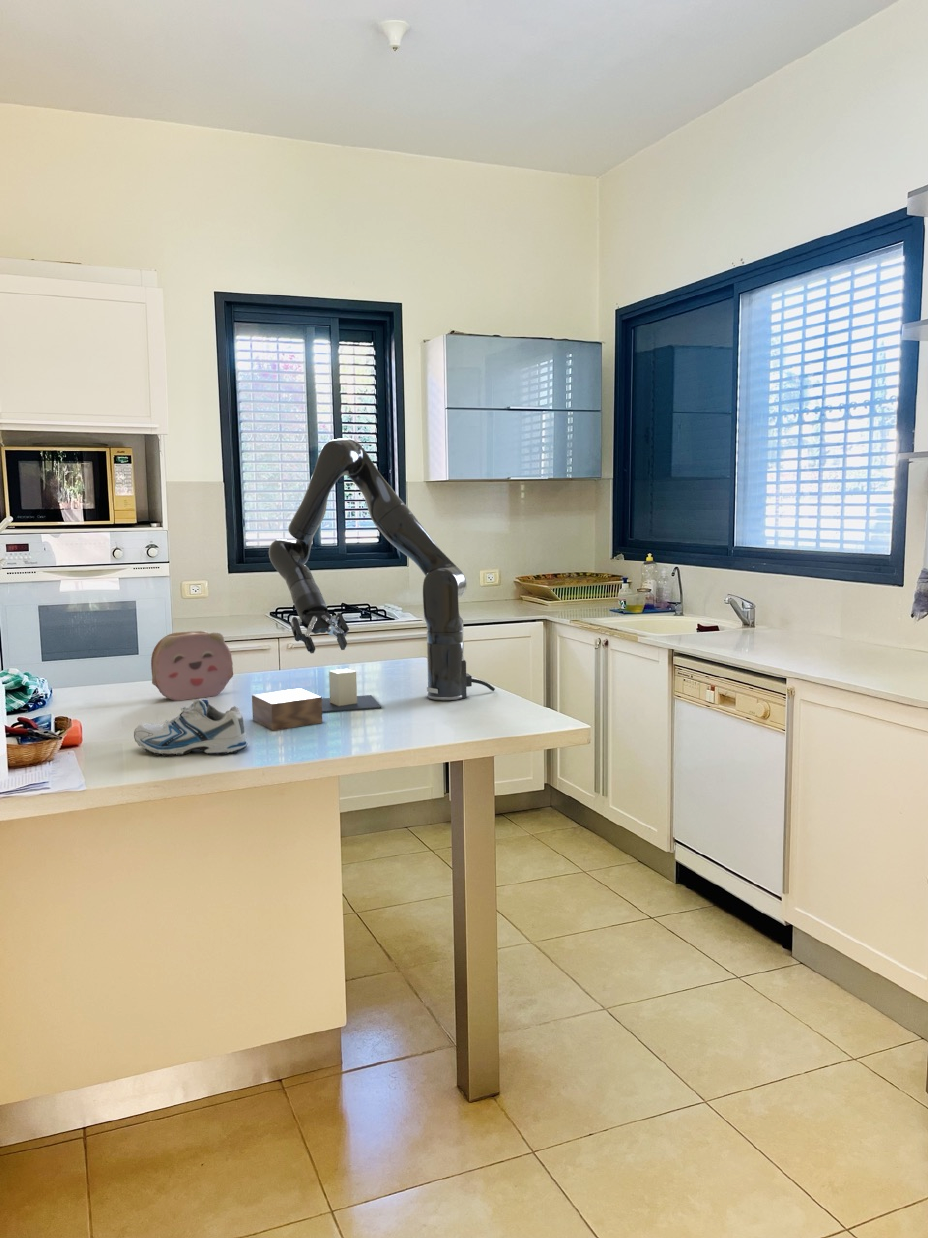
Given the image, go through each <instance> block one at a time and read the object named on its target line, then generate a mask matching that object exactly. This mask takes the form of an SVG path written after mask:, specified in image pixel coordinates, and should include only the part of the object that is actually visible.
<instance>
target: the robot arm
mask: <svg viewBox="0 0 928 1238" xmlns="http://www.w3.org/2000/svg"><path fill="white" fill-rule="evenodd" d="M344 476H347V477H348V478H349V479H350V480H351V481H352V482H353V483H354V485H355V486H356V487H357V488H358V490H359V491H360V493H361V494H362V496H363V497H364V500H365V501H364V502H365V504H366V508H367V511H368V514H369V516H370V519H371V521H372V522H373V524H374V525H375V527H377V530H379V532H380V534H382V536H383V537H384V538H385V539H386V540H387V541H388V542H389V543H390V545H392V546H393V547H394V548H396V549H397V550H398V551H399V552H401V553H402V554H403V555H405V556H406V557H408V558H409V559H410V560H411V561H413V563H415V565H417V567H418V568H419V569H420V571H421V572H422V573H423V574H424V577H423V582H422V606H423V608H422V609H423V618H424V621H425V624H426V653H427V654H426V655H427V656H426V660H427V662H426V663H427V664H426V665H427V666H426V667H427V686H426V692H427V698H428V699H430V700H434V701H456V700H460V699H467V698H468V697H467V688H468V687H469V688H470V687H472V685H473V684H479V685H481V686H484V687H486V688H488V689H489V690H490V691H492V692H494V691H495V690H496V688H495V687H494V686H493V685H491V684H490V683H488V682H486V681H485V680H481V679H476V678H473V677H472V675H471V674H469V673H467V660H466V659H465V658H464V657H465V656H464V655H465V654H464V651H465V650H464V647H465V646H464V645H465V644H464V643H465V641H464V619H463V618H462V617H461V615H460V605H459V604H460V603H459V599H461V598H462V597H463V596H464V595H465V593H466V591H467V580H466V577H465V575H464V573H463V571H462V570H461V569H460V568H459V566H457V565H456V564H455V563H454V562H453V561H452V560H451V559H450V558H449V557H448V556H447V555H446V554H445V552H443V551H442V550H441V549H440V548H439V546H438V545H437V544H436V543H435V541H434V540H433V539H432V537H431V536H430V535H429V533H428V531H426V529H425V528H424V526H422V524H421V523H420V521H418V519H417V518H416V516H415V514H414V513H413V512H412V511H411V510H410V508H409V507H408V506H407V505H406V503H405V502H404V501H403V500H402V499H401V498H400V496H399V495H398V494H397V493H396V492H395V490H394V489H393V487H392V486H391V485H390V484H389V483H388V482H387V480H386V479H385V478H384V477H383V475H382V474H381V473H380V471H379V470H378V468H377V467H376V465H375V464H374V462H373V460H372V458H370V456H369V454H368V453H367V451H366V449H365V448H364V446H363V445H361V443H359V442H358V441H357V440H355V439H352V438H337V439H332V440H329V441H327V442H326V443H325V444H324V445H323V446H322V448H321V449H320V451H319V455H318V457H317V460H316V463H315V466H314V470H313V472H312V475H311V478H310V481H309V483H308V486H307V489H306V491H305V493H304V496H303V498H302V500H301V502H300V504H299V506H298V508H297V510H296V512H295V513H294V515H293V517H292V519H291V521H290V523H289V525H288V529H287V530H288V533H289V534H290V536H291V537H292V538H294V539H296V540H287V539H283V538H282V539H280V538H279V539H276V540H275V539H274V541H272V542H271V543H270V545H269V549H268V557H269V561H270V563H271V564H272V566H273V567H274V569H275V570H276V572H277V573H278V574H279V575H280V576H281V578H282V579H283V580H284V581H285V583H286V585H287V588H288V590H289V594H290V597H291V600H292V604H293V605H294V607H295V610H296V613H297V615H298V618H297V617H296V616H293V617H292V619H291V621H290V623H289V626H290V629H291V631H292V635H293V638H294V641H296V642H299V641H300V642H303V644H304V646H305V648H306V650H307V652H309V653H310V654H315V651H316V645H315V643H314V641H313V638H312V637H311V634H312V633H313V634H314V635H316V634H317V635H318V634H320V633H321V634H325V633H326V634H328V635H329V636H333V637H335V638H336V641H337V643H338V646H339V648H340V651H345V650H346V648H347V645H348V641H347V639H346V636H347V635H348V633H349V631H350V628H349V626H348V624H347V622H346V620H345V618H344V616H343V615H342V613H341V612H338V613H337V614H336V615H331V614H330V613H329V609H328V606H327V604H326V602H325V599H324V597H323V594H322V592H321V589H320V588H319V586H318V585H317V582H316V581H315V578H314V577H313V574H312V572H311V570H310V568H309V567H308V566H307V565H306V564H307V562H308V561H309V558H310V554H311V548H312V546H313V545H312V544H313V541H314V540H313V539H314V536H315V534H316V533H317V531H318V530H319V528H320V525H321V524H322V522H323V520H324V517H325V514H326V512H327V511H326V510H327V505H328V500H329V499H328V498H329V496H330V493H331V491H332V489H333V487H334V486H335V485H336V483H337V482H338V481H339V479H341V477H344ZM301 626H302V627H304V628H305V629H306V630H305V633H303V631H302V628H301ZM330 627H331V628H330Z"/></svg>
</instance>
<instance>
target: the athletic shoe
mask: <svg viewBox="0 0 928 1238" xmlns="http://www.w3.org/2000/svg"><path fill="white" fill-rule="evenodd" d="M180 710H181V712H180V714H179V715H177V716H176V717H173V718H172V719H171V720H165V722H164V723H163V724H158V723H151V722H147V723H146V722H143V723H139V725H138V726H136V727H135V729H134V731H133V737H134V738H133V739H134V742H135V743H136V744H137V746H139V747H141V748H142V749H143V750H144V751H145V752H146V753H147V752H151V753H152V754H154V755H155V756H161V755H162V756H164V757H166V756H171V757H173V756H174V755H176V756H184V755H188V754H190V753H191V752H192V751H194V750H195V751H201V752H204V753H206V754H207V755H209V756H222V755H227V754H229V753H232V754H236V753H238V752H240V751H243V749H245V748H246V747H247V746H248V744H249V742H248V739H247V737H248V736H247V733H246V730H245V723H244V717H243V715H242V714H243V713H242V712H241V710H240V708H239V707H237V706H232V707H230V709H229V710H227V711H226V710H225V712H222V711H219V710H218V709H217V708H216V707H214V706H213V705H212V704H210V703H209V700H208V699H206V698H196V699H195V700H194V701H193V702H192V704H191V705H190V706H182V707H181V708H180Z"/></svg>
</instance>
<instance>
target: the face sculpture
mask: <svg viewBox="0 0 928 1238" xmlns="http://www.w3.org/2000/svg"><path fill="white" fill-rule="evenodd" d="M232 656H233V655H232V651H231V649H230V648H229V646H228V645H227V643H226V641H225V637H224V635H223V634H222V633H220V632H215V631H214V632H208V631H204V630H190V631H181V632H180V631H179V632H172V633H169V634H167V635H165V636H164V637H162V638H161V639H160V640H159V641H158V642H157V643H156V644H155V646H154V648H153V650H152V653H151V660H150V671H151V684H152V685H153V686H155V687H156V689H157V690H158V691H159V693H160V694H161V696H163V697H165V698H167V699H169V700H171V701H173V702H175V701H176V702H177V701H183V700H193V699H195V700H196V699H204V698H209V697H216V696H218V695H219V694H220V693H221V692H223V691H224V690H225V689H226V686H227V685H228V683H230V680H231V679H232V678H233V677H234V665H233V657H232Z"/></svg>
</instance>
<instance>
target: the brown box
mask: <svg viewBox="0 0 928 1238" xmlns="http://www.w3.org/2000/svg"><path fill="white" fill-rule="evenodd" d="M322 698H323V697H322V696H320V695H317V694H315V693H312V692H311V691H308V690H305V689H304V688H301V687H299V688H293V689H292V688H291V689H285V690H277V691H276V690H275V691H270V692H262V693H261V692H260V693H255V694H251V711H252V721H254V722H256V723H258V724H259V725H261V726H263V727H265V728H267V729H269V730H271V731H273V732H274V731H280V730H286V729H292V728H298V727H305V726H312V725H317V724H323V713H322Z"/></svg>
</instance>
